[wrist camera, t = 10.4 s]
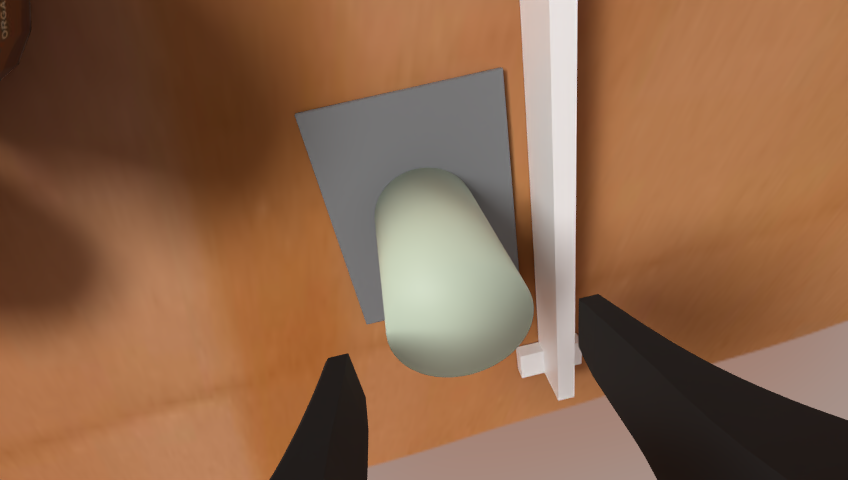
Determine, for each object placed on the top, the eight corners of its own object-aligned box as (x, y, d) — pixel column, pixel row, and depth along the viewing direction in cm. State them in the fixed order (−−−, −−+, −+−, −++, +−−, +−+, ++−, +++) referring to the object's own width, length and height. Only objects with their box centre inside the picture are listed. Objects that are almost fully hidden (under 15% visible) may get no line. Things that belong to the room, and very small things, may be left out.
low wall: (581, -168, 14) (630, -203, 12) (575, 354, 28) (598, 390, 25) (468, -144, 14) (493, -174, 12) (518, 368, 28) (534, 406, 25)
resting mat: (500, 67, 18) (502, 68, 18) (518, 284, 24) (520, 287, 24) (295, 113, 18) (294, 115, 18) (366, 320, 24) (366, 324, 24)
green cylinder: (467, 157, 20) (530, 245, 13) (479, 245, 22) (536, 358, 15) (363, 180, 19) (369, 283, 13) (387, 267, 22) (403, 391, 15)
